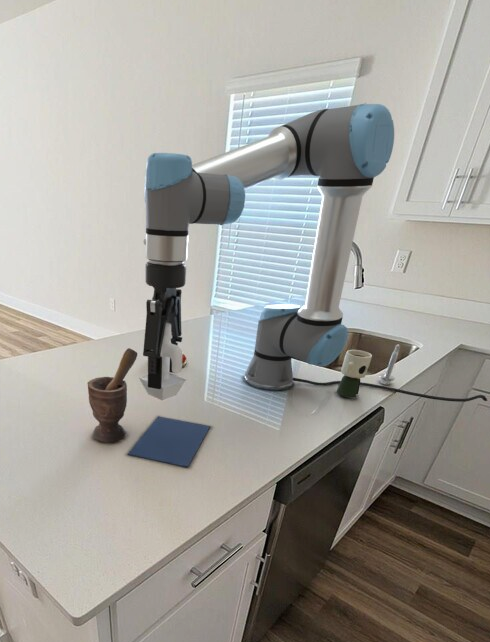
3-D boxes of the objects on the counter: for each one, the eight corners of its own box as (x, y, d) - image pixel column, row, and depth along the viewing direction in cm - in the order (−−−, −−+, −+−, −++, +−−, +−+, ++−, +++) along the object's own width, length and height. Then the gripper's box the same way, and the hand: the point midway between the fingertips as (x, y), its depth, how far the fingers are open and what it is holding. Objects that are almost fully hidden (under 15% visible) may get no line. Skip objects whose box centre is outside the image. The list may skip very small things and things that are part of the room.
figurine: (166, 406, 84) (168, 332, 75) (135, 392, 89) (134, 321, 80) (189, 396, 88) (194, 326, 80) (158, 384, 93) (160, 316, 85)
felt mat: (209, 427, 103) (209, 426, 102) (187, 467, 87) (187, 466, 87) (158, 417, 106) (158, 416, 105) (127, 454, 90) (127, 453, 90)
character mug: (349, 404, 119) (363, 360, 111) (327, 396, 122) (339, 353, 115) (365, 394, 125) (379, 352, 118) (343, 387, 129) (355, 346, 121)
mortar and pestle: (116, 419, 104) (112, 340, 92) (142, 429, 100) (142, 348, 88) (84, 436, 96) (76, 353, 84) (112, 448, 92) (107, 362, 80)
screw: (378, 385, 132) (375, 379, 136) (393, 387, 131) (390, 381, 135) (392, 345, 125) (389, 340, 128) (409, 347, 124) (405, 342, 128)
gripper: (166, 254, 83) (163, 361, 96) (122, 267, 66) (125, 395, 79) (201, 257, 81) (193, 365, 94) (165, 271, 64) (162, 402, 77)
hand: (162, 379), depth 87 cm, fingers closed on figurine, 9 cm apart
